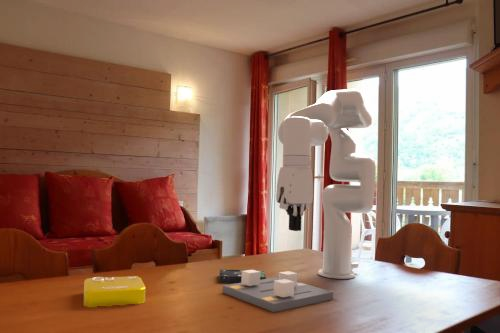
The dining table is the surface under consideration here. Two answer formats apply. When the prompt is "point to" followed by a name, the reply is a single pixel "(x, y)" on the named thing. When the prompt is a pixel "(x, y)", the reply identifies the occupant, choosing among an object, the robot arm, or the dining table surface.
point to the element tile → (113, 291)
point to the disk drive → (234, 276)
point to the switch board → (267, 300)
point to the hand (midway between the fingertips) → (294, 230)
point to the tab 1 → (250, 277)
